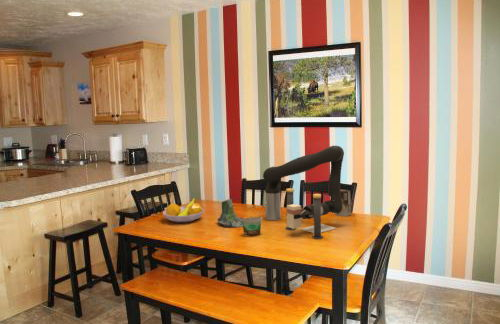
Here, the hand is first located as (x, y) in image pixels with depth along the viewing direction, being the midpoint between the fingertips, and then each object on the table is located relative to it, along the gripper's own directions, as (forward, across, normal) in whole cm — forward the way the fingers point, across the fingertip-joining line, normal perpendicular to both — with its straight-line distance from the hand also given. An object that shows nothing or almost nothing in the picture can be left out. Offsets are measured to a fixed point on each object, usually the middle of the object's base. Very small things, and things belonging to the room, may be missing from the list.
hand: (290, 216), depth 227 cm
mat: (-21, 0, +11) cm, 24 cm away
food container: (+14, -15, +12) cm, 24 cm away
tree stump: (+10, -42, +12) cm, 45 cm away
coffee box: (-56, -13, +12) cm, 58 cm away
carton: (-3, 0, +6) cm, 7 cm away
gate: (-9, 0, +11) cm, 15 cm away
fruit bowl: (+28, -72, +13) cm, 79 cm away
